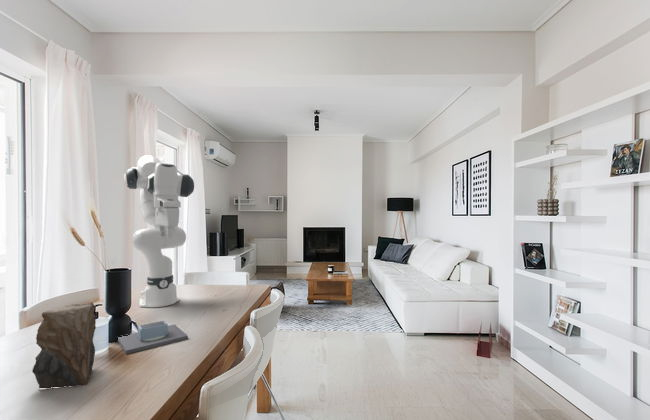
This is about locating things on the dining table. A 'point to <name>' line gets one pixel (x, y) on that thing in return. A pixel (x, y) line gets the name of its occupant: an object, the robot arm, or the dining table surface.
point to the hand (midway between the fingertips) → (166, 237)
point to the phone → (152, 330)
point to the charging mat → (150, 340)
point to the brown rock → (65, 346)
